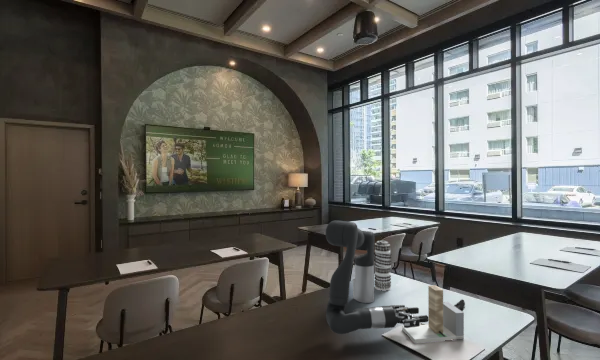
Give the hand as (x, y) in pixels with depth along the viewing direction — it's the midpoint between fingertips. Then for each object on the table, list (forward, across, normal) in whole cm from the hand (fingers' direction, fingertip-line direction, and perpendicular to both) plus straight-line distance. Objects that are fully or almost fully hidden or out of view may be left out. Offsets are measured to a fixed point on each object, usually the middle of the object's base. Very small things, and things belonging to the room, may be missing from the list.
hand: (422, 314), depth 120 cm
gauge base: (+4, 0, +8) cm, 9 cm away
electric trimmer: (+26, +18, +8) cm, 33 cm away
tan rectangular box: (+5, -2, +6) cm, 8 cm away
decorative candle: (+4, +50, +8) cm, 51 cm away
